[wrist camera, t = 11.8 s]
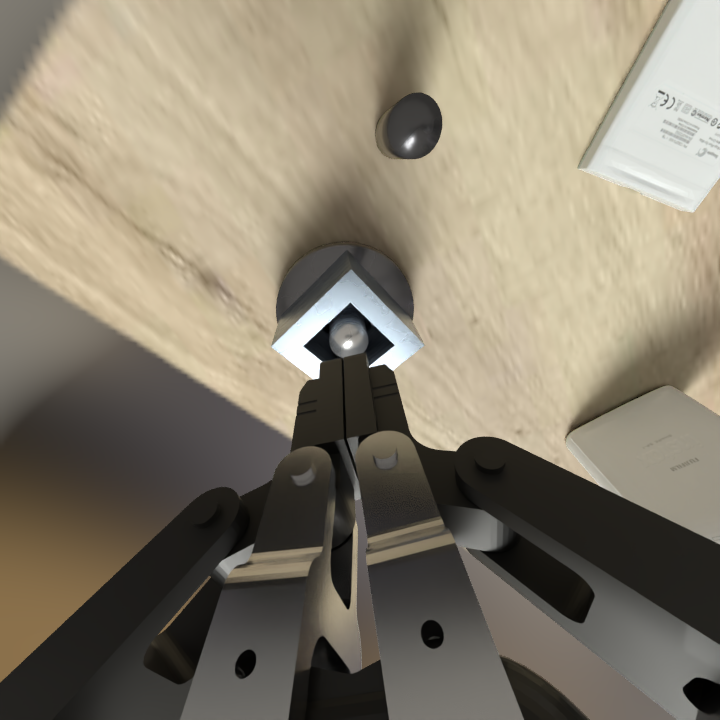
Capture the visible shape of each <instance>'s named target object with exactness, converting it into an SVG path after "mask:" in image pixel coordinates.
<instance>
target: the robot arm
mask: <svg viewBox="0 0 720 720" xmlns="http://www.w3.org/2000/svg"><path fill="white" fill-rule="evenodd" d="M359 499H361V500H362V507H363V514H364V520H365V527H366V533H367V540H368V548H366V561H367V568H368V576H369V583H370V590H371V596H372V604H373V611H374V617H375V624H376V631H377V638H378V645H379V652H380V660H379V661H377V662H375V663H373V664H371V665H369V666H367V667H366V668H364V669H362V670H361V643H360V634H359V628H358V622H357V611H356V601H357V598H356V597H357V542H358V527H357V523H356V520H355V500H359ZM457 546H460V547H465V548H466V549H467V550H468V551H469V553H470V554H472V555H473V556H474V557H475V558H476V559H477V560H479V561H480V562H481V563H482V564H484V565H485V566H486V567H487V568H489V569H490V570H491V571H493V572H494V573H495V574H496V575H497V576H499V577H500V578H501V579H502V580H504V581H505V582H506V583H507V584H509V585H510V586H511V587H512V588H514V589H515V590H516V591H517V592H519V593H520V594H521V595H522V596H524V597H525V598H526V599H527V600H529V601H530V602H531V603H532V604H533V605H535V606H536V607H537V608H539V609H540V610H541V611H542V612H543V613H545V614H546V615H547V616H549V617H550V618H551V619H552V620H554V621H555V622H556V623H557V624H559V625H560V626H561V627H562V628H563V629H565V630H566V631H567V632H568V633H570V634H571V635H572V636H573V637H575V638H576V639H577V640H578V641H580V642H581V643H582V644H583V645H585V646H586V647H587V648H588V649H590V650H591V651H592V652H593V653H595V654H596V655H597V656H598V657H600V658H601V659H602V660H603V661H605V662H606V663H607V664H608V665H610V666H611V667H612V668H613V669H614V670H616V671H617V672H618V673H620V674H621V675H622V676H623V677H624V678H626V679H627V680H628V681H630V682H631V683H632V684H633V685H634V686H636V687H637V688H638V689H639V690H641V691H642V692H643V693H644V694H646V695H647V696H648V697H649V698H651V699H652V700H653V701H655V702H656V703H657V704H658V705H659V706H661V707H662V708H663V709H665V710H666V711H667V712H668V713H669V714H671V715H672V716H673V717H674V718H676V719H677V720H720V544H718V543H716V542H714V541H712V540H710V539H708V538H706V537H704V536H702V535H699V534H697V533H695V532H693V531H691V530H689V529H687V528H685V527H683V526H681V525H679V524H677V523H675V522H673V521H670V520H668V519H666V518H664V517H662V516H660V515H658V514H656V513H654V512H652V511H650V510H648V509H646V508H644V507H642V506H639V505H637V504H635V503H633V502H631V501H629V500H627V499H625V498H623V497H621V496H619V495H617V494H615V493H613V492H611V491H608V490H606V489H604V488H602V487H600V486H598V485H596V484H594V483H592V482H590V481H588V480H586V479H584V478H582V477H579V476H577V475H575V474H573V473H571V472H569V471H567V470H565V469H563V468H561V467H559V466H557V465H555V464H553V463H551V462H548V461H546V460H544V459H542V458H540V457H538V456H536V455H534V454H532V453H530V452H528V451H526V450H524V449H522V448H519V447H517V446H515V445H513V444H511V443H509V442H507V441H505V440H502V439H499V438H494V437H477V438H473V439H470V440H468V441H466V442H465V443H463V444H462V445H461V446H460V447H459V448H458V450H457V451H443V450H435V449H431V448H428V447H426V446H423V445H422V444H420V443H419V442H417V441H416V440H415V439H414V438H413V437H412V435H411V433H410V431H409V428H408V424H407V420H406V416H405V413H404V409H403V405H402V401H401V397H400V394H399V390H398V386H397V382H396V379H395V375H394V372H393V371H392V370H391V369H390V368H389V367H388V366H387V365H385V364H382V365H377V366H373V367H369V363H368V359H367V355H366V352H365V353H360V354H356V355H351V356H347V357H344V360H343V358H338V359H333V360H329V361H324V362H321V363H320V369H319V378H318V379H313V380H308V381H307V382H306V384H305V385H304V387H303V388H302V390H301V391H300V394H299V401H298V407H297V416H296V420H295V426H294V433H293V439H292V447H291V452H290V454H288V455H287V456H286V457H284V458H283V459H282V461H281V462H280V463H279V464H278V466H277V468H276V469H275V472H274V475H273V478H272V480H271V481H269V482H268V483H267V484H265V485H263V486H261V487H259V488H257V489H255V490H253V491H250V492H248V493H246V494H244V495H242V496H240V497H239V496H238V494H237V493H236V492H235V491H234V490H233V489H231V488H227V487H219V488H215V489H211V490H209V491H207V492H205V493H204V494H202V495H200V496H199V497H197V498H196V499H195V500H194V501H193V502H191V503H190V504H189V505H188V506H187V507H186V508H185V509H184V510H183V511H182V512H181V513H180V514H179V515H178V516H176V517H175V518H174V519H173V520H172V521H171V522H170V523H169V524H168V525H167V526H166V527H165V528H164V529H163V530H162V531H161V532H160V533H159V534H157V535H156V536H155V537H154V538H153V539H152V540H151V541H150V542H149V543H148V544H147V545H146V546H145V547H144V548H143V549H142V550H140V551H139V552H138V553H137V554H136V555H135V556H134V557H133V558H132V559H131V560H130V561H129V562H128V563H127V564H126V565H125V566H123V567H122V568H121V569H120V570H119V571H118V572H117V573H116V574H115V575H114V576H113V577H112V578H111V579H110V580H109V581H108V582H107V583H105V584H104V585H103V586H102V587H101V588H100V589H99V590H98V591H97V592H96V593H95V594H94V595H93V596H92V597H91V598H90V599H89V600H87V601H86V602H85V603H84V604H83V605H82V606H81V607H80V608H79V609H78V610H77V611H76V612H75V613H74V614H73V615H72V616H70V617H69V619H67V620H66V621H65V622H64V623H63V624H62V625H61V626H60V627H59V628H58V629H57V630H56V631H55V632H54V633H52V634H51V635H50V636H49V637H48V638H47V639H46V640H45V641H44V642H43V643H42V644H41V645H40V646H39V647H38V648H37V649H36V650H34V651H33V653H31V654H30V655H29V656H28V657H27V658H26V659H25V660H24V661H23V662H22V663H21V664H20V665H19V666H18V667H17V668H15V669H14V670H13V671H12V672H11V673H10V674H9V675H8V676H7V677H6V678H5V679H4V680H3V681H2V682H1V683H0V720H590V719H589V718H587V716H586V715H585V714H584V713H583V712H582V711H580V709H578V708H577V707H576V706H575V705H574V704H573V703H572V702H571V701H570V700H569V699H568V698H567V697H566V696H565V695H564V694H563V693H562V692H560V691H559V690H558V689H557V688H555V687H554V686H553V685H552V684H550V683H549V682H548V681H546V680H545V679H544V678H543V677H541V676H539V675H538V674H537V673H535V672H533V671H532V670H530V669H529V668H527V667H526V666H524V665H522V664H520V663H518V662H516V661H514V660H512V659H510V658H508V657H505V656H502V655H499V654H498V651H497V649H496V646H495V643H494V641H493V638H492V636H491V633H490V630H489V628H488V625H487V623H486V620H485V618H484V615H483V613H482V610H481V607H480V605H479V602H478V599H477V597H476V594H475V591H474V589H473V586H472V584H471V581H470V579H469V576H468V573H467V571H466V568H465V566H464V563H463V561H462V558H461V555H460V553H459V550H458V548H457ZM209 575H210V576H211V578H210V579H209V580H208V582H207V583H206V584H205V585H204V586H203V587H202V589H201V590H200V591H199V592H198V593H197V594H196V596H195V597H194V598H193V599H192V600H191V601H190V603H189V604H188V605H187V606H186V607H185V609H183V611H182V612H181V613H180V614H179V615H178V617H177V618H176V619H175V620H174V621H173V622H172V623H171V625H170V626H169V627H168V628H167V629H166V630H165V631H163V632H162V633H161V634H159V633H160V631H161V630H162V629H163V628H164V627H165V626H166V624H167V623H168V622H169V621H170V620H171V619H172V618H173V616H174V615H175V614H176V613H177V612H178V611H179V610H180V608H181V607H182V606H183V605H184V604H185V603H186V601H187V600H188V599H189V598H190V597H191V596H192V595H193V593H194V592H195V591H196V590H197V589H198V588H199V587H200V585H201V584H202V583H203V582H204V581H205V579H207V577H208V576H209ZM158 634H159V635H158Z"/></svg>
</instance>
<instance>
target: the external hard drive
mask: <svg viewBox="0 0 720 720" xmlns="http://www.w3.org/2000/svg"><path fill="white" fill-rule="evenodd" d="M578 169H579V170H582V171H585V172H587V173H590V174H592V175H595V176H597V177H599V178H602V179H604V180H607V181H609V182H612V183H614V184H617V185H619V186H622V187H627V188H630V189H633V190H635V191H637V192H640V194H641V195H644V196H646V197H649V198H651V199H653V200H656V201H658V202H661V203H663V204H666V205H668V206H671V207H673V208H675V209H678V210H681V211H687V212H694V211H695V210H696V208H697V207H698V206H699V205H700V203H701V202H702V201H703V199H704V198H705V197H706V195H707V194H708V193H709V191H710V190H711V188H712V187H713V186H714V184H715V183H716V182H717V181H718V179H719V178H720V0H669V1H668V3H667V5H666V7H665V9H664V10H663V12H662V14H661V16H660V18H659V19H658V21H657V23H656V25H655V27H654V29H653V30H652V32H651V34H650V36H649V38H648V40H647V41H646V43H645V45H644V47H643V49H642V51H641V52H640V54H639V56H638V58H637V60H636V62H635V63H634V65H633V67H632V69H631V71H630V72H629V74H628V76H627V78H626V80H625V82H624V83H623V85H622V87H621V89H620V91H619V93H618V94H617V96H616V98H615V100H614V102H613V104H612V105H611V107H610V109H609V111H608V113H607V115H606V116H605V118H604V120H603V122H602V124H601V126H600V127H599V129H598V131H597V133H596V135H595V137H594V138H593V140H592V142H591V144H590V146H589V147H588V149H587V151H586V153H585V154H584V156H583V158H582V160H581V162H580V164H579V166H578Z"/></svg>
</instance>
